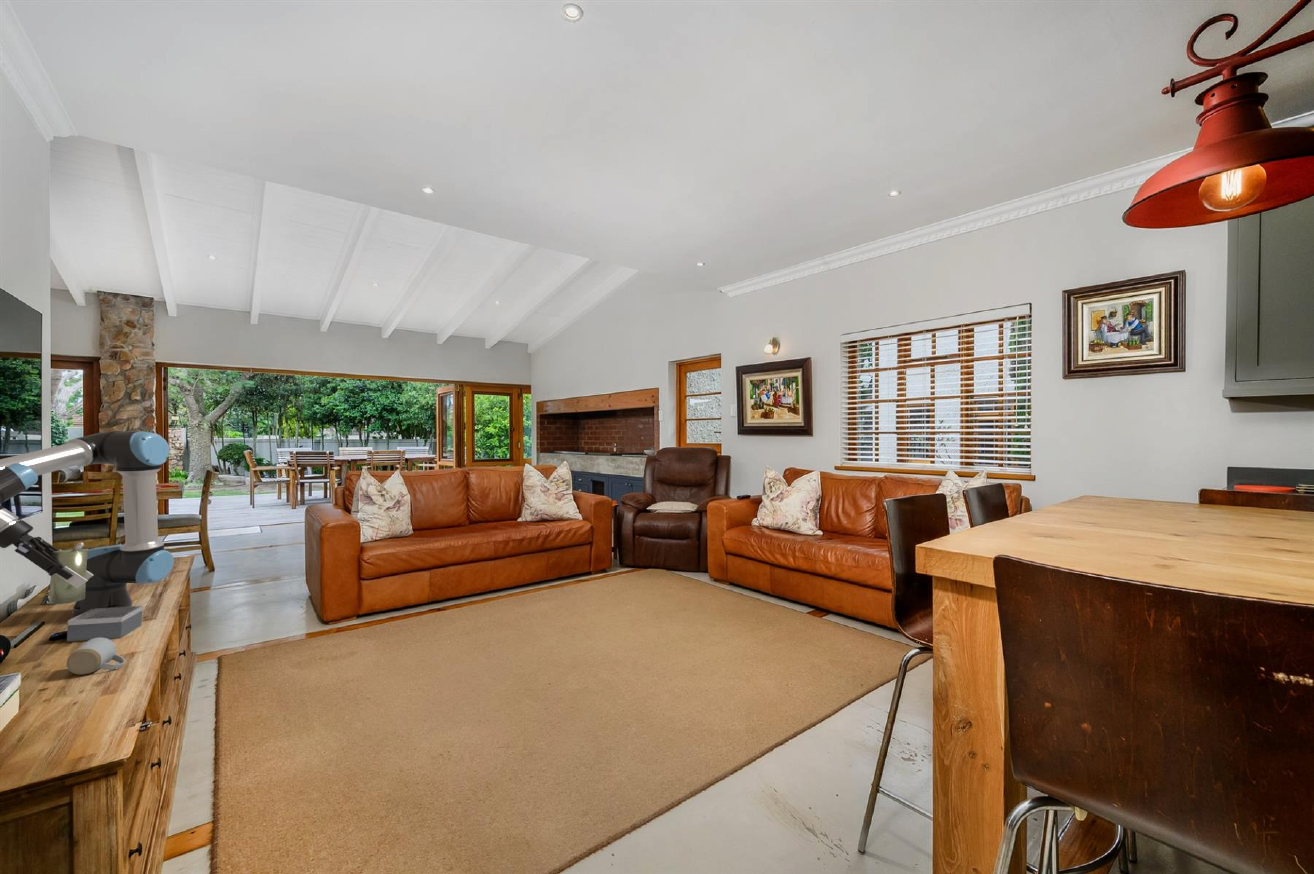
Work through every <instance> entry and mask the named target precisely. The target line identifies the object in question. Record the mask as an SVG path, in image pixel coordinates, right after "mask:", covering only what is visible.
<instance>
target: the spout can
mask: <svg viewBox="0 0 1314 874" xmlns="http://www.w3.org/2000/svg"><path fill="white" fill-rule="evenodd" d="M84 546H85V543H84V542H82V541H81V542H78V543H77V544H76V545H75V546H74V548H71V549H63V550H60V549H59V550H60V551H55V552H52V558H54V559H55V560H56V561H57V562H59V563H60V564H61V565H63V568H64V567H65V566H66V567H68V568H70V569H71V570H73V571H74V572H76V573H77V574H79V575H80V576H82V577H83V578H85V579H86V568H87V550H88V549H86V548H84ZM55 574H56V573H55ZM55 574H54V575H52V576H50V582H49V583H50V585H49V601H48V602H49V604H52V605H53V604H57V605H58V604H68V603H69V604H70V603H74V602H75V603H76V601H80V600H83V599H85V587H86V582H85V583H84V584H83V585H81V586H80V587H79V588H76V587H74V586H73V585H71V584H69V583H68V582H66V581H65V580H63V579H62V578H60V577H59V576H57V575H55Z"/></svg>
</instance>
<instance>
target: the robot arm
mask: <svg viewBox="0 0 1314 874" xmlns="http://www.w3.org/2000/svg"><path fill="white" fill-rule="evenodd" d="M169 456H170V446H169V443H168V442H167V440H166V439H165V438H164V437H162V435H160V434H158V433H155V432H151V431H150V432H149V431H141V430H140V431H131V430H130V431H129V430H126V431H123V430H111V431H110V430H109V431H102V432H98V433H93V434H89V435H86V436H81V437H80V436H79V437H76V438H73V439H69V440H68V441H66V442H65V443H64V444H61V445H55V446H52V447H48V448H43V449H40V450H35V451H31V452H26V453H22V454H18V455H13V456H10V457H5V458H1V459H0V548H1V549H7V548H8V547H10V546H11V545H13V546H15V549H14V552H15V553H17V554H19V555H20V556H23V557H24V558H25V559H27V560H28V561H30V562H31V563H33V564H34V565H36V566H37V567H39V568H41V570H43V571H44V572H46V573H47V574H48V576H50V577H51V576H52V575H54V574H55V573H56V574H55V575H57V576H59V577H60V578H62V579H63V580H65V581H66V582H68V583H69V584H71V585H73V586H74V587H76V588H79V587H80V586H81V585H83V584H84V583H85V582H86V587H85V599H83V600H80V601H76V602H75V603H74V605H73V607H72V612H71V615H72V617H73V618H74V617H76V616H78V615H80V614H83V613H85V612H87V611H89V610H91V609H96V608H113V607H131V606H133V600H132V598H131V595H130V592H129V591H128V590H129V589H128V588H127V584H139V585H146V584H151V585H152V584H155V583H159V582H160V581H162V580H164V579H166V577H167V576H168V575H169V573H171V571H172V569H173V566H174V562H175V561H174V560H175V559H174V555H173V554H172V553H171V551H168V550H165V543H164V541H162V540H161V539H159V529H158V528H159V526H158V524H159V523H158V504H157V503H158V502H157V499H158V497H157V478H156V474H157V473H158V472H159V471H160V470H162V465H163V464H164V463H166V462H167V460H168V458H169ZM102 464H103V465H104V464H105V465H106V464H107V465H115V471H116V473H118V474H120V475H121V476H122V493H123V494H122V495H123V496H122V497H123V515H124V519H123V521H124V539H125V542H124V544H115V545H107V546H102V547H101V546H100V547H94V548H90V549H87V568H86V579H85V578H83V577H82V576H80V575H79V574H77V573H76V572H74V571H73V570H71V569H70V568H68V567H66V566H65V567H64V568H63V565H61V564H60V563H59V562H57V561H56V560H55V559H54V558H52V552H55V551H60V549H58V548H57V547H55V546H53V545H52V544H50V543H49V542H47V541H46V540H44V539H43V538H42V537H40V536H32V535H30V534H29V533H30V532H31V531H32V530H34V527H33V526H32V525H31V524H29V523H28V522H27V521H24V520H19V516H17V515H16V514H14V513H13V512H12V511H10V510H8V509H7V508H5V507H4V506H3V505H2V504H3V503H5V502H6V501H8V500H10V499H12V498H14V497H15V496H17V495H19V494H21V493H23V492H25V491H27V490H28V489H29V488H31V487H32V486H34V485H35V484H36V483H38V480H39V476H43V475H45V474H48V473H52V472H57V471H60V470H64V469H67V468H71V467H75V466H77V467H81V468H82V467H87V466H90V465H102Z"/></svg>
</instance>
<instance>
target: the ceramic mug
mask: <svg viewBox="0 0 1314 874" xmlns="http://www.w3.org/2000/svg"><path fill="white" fill-rule="evenodd" d="M111 661H115V662H117V664H115V663H112V664H111V663H110V662H111ZM125 663H126V659H125V658H124V657H123V656H121V655H119V654H117V646H116V644H115V642H114V641H112V639H107V638H94V639H91V640H87V641H86V642H85V641H84V643H82V645H80V646H79V647H78V648H77V649H75V650H74V651H73V652H72V653H71V654H70V655H69V656H68V658H67V660H66V668H67V670H68V671H69V672H70V673H72V674H74V675H78V676H82V675H84V676H85V675H89V674H92V673H94V672H96V671H98V670H99V669H102V670H110V671H113V670H114V669H116V668H119V669H121V668H122V667H123V666H124V664H125ZM121 666H122V667H121ZM120 667H121V668H120ZM116 670H117V669H116ZM114 671H115V670H114Z"/></svg>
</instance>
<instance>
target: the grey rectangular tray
mask: <svg viewBox="0 0 1314 874" xmlns="http://www.w3.org/2000/svg"><path fill="white" fill-rule="evenodd" d="M142 620H143V605H137V606H136V605H135V606H133V605H132V606H131V607H113V608H96V609H91V610H89V611H87V612H85V613H83V614H80V615H78V616H76V617H74V616H73V617H72V618H70V619H68V620H67V628H66V629H67V630H66V632H67V634H66V643H69V642H70V643H71V642H85V641H86V642H87V641H89V640H91V639H94V638H107V639H109V640H112V639H122V638H123V637H125V636H127V635H128V634H130V633H132V632H134V631H135V630H137V629H138V628H139V627H141V626H142V622H143V621H142ZM131 631H132V632H131Z"/></svg>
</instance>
